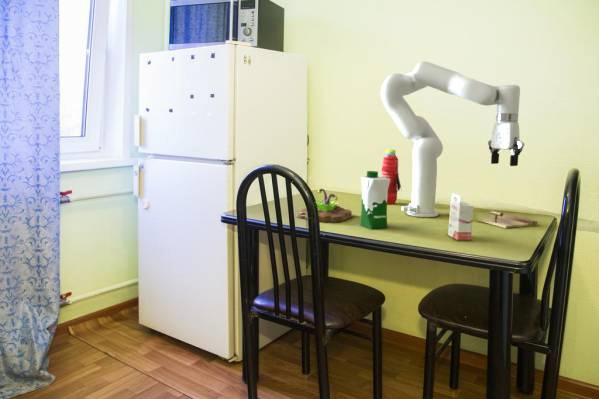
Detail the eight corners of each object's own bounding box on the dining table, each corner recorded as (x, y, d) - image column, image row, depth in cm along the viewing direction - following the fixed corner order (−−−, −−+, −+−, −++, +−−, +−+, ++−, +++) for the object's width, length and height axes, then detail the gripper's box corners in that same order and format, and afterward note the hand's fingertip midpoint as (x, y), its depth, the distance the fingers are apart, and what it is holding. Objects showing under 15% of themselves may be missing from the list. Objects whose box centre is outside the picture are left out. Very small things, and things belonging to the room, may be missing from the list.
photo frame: (506, 228, 184) (507, 214, 183) (478, 220, 196) (479, 207, 195) (529, 226, 188) (530, 212, 187) (500, 218, 201) (501, 206, 200)
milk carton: (376, 223, 190) (378, 170, 187) (391, 227, 182) (393, 173, 179) (356, 225, 186) (358, 171, 183) (371, 230, 178) (373, 174, 175)
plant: (315, 210, 214) (316, 184, 212) (357, 215, 204) (358, 188, 202) (291, 218, 197) (291, 189, 195) (335, 224, 187) (336, 194, 185)
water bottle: (406, 205, 229) (409, 150, 225) (394, 206, 224) (396, 150, 220) (387, 201, 239) (389, 148, 234) (375, 202, 234) (377, 149, 230)
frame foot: (532, 226, 188) (533, 221, 188) (502, 218, 202) (502, 214, 201) (537, 225, 189) (537, 221, 189) (506, 218, 203) (506, 213, 202)
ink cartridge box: (471, 240, 165) (475, 196, 162) (457, 241, 164) (460, 196, 162) (461, 234, 173) (464, 192, 171) (447, 234, 173) (450, 192, 170)
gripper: (482, 118, 194) (480, 163, 196) (516, 119, 178) (513, 167, 181) (498, 118, 196) (495, 162, 199) (533, 119, 180) (529, 166, 183)
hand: (504, 164), depth 190 cm, fingers open, 9 cm apart
